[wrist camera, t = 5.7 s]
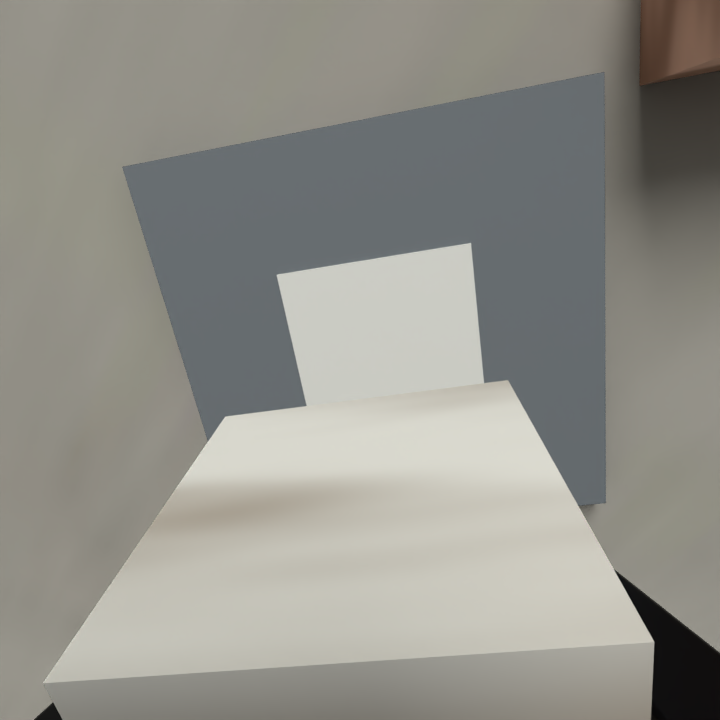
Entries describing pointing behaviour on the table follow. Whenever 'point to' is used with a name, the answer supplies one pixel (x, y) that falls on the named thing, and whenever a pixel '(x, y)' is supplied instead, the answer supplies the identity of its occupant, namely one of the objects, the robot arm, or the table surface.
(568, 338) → the blue-grey square plate
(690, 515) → the table surface
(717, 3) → the terracotta block
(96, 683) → the off-white block
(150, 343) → the table surface
